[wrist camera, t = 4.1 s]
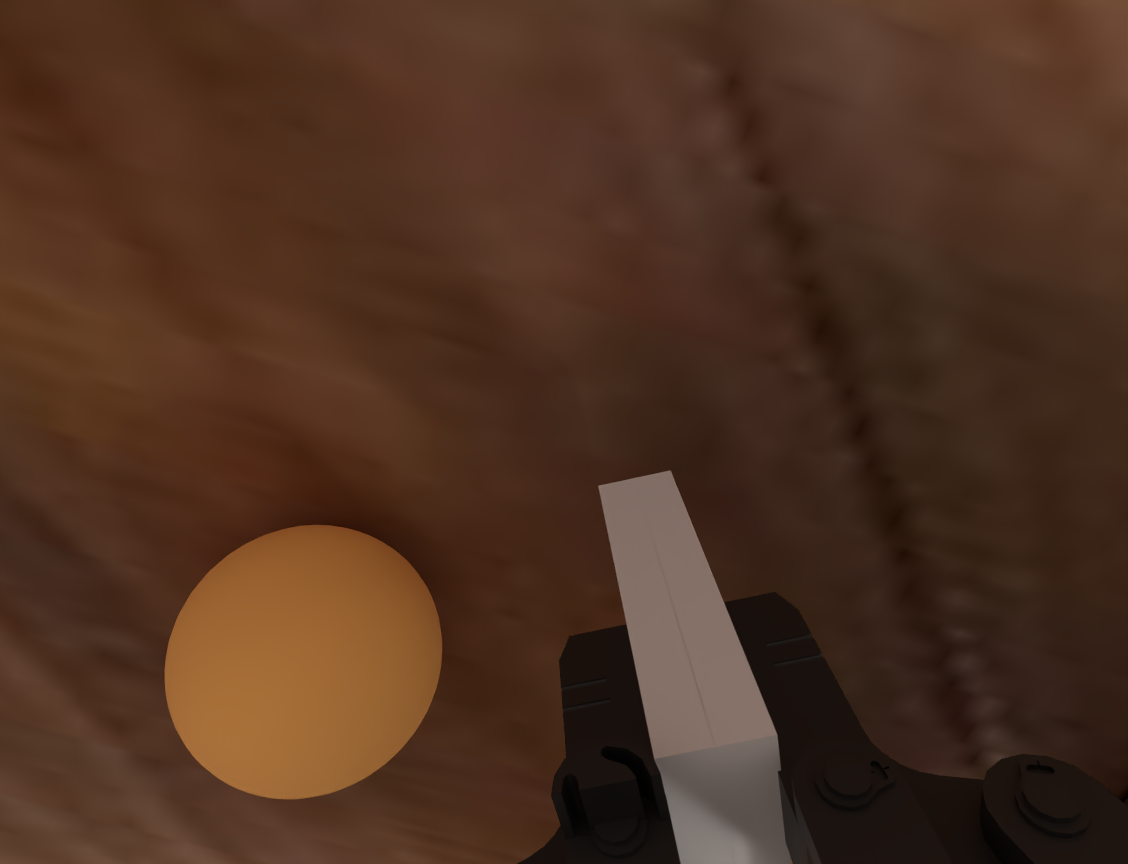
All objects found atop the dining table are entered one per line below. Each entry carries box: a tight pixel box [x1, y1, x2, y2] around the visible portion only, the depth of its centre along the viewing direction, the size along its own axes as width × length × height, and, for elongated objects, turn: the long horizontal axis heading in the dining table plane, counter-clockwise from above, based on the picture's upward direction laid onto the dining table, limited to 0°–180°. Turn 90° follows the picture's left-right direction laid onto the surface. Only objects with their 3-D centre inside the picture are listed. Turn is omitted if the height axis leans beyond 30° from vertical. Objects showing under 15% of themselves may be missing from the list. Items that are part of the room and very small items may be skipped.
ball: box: [165, 525, 442, 799], centre depth 15 cm, size 6×6×6 cm
